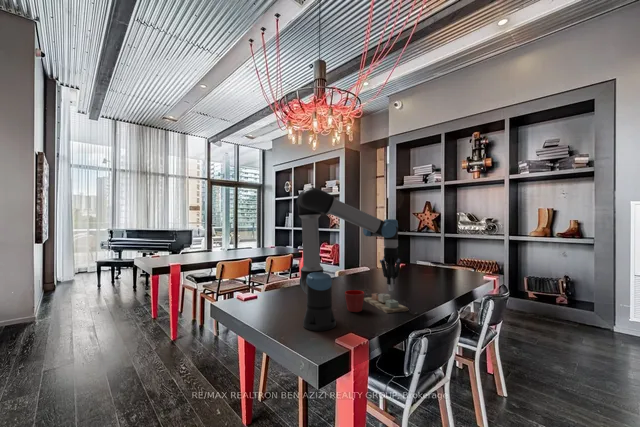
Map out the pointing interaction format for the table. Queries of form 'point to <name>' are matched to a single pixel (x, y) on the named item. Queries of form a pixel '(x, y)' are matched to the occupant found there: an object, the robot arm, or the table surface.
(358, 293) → the flower pot
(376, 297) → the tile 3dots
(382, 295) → the tile
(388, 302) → the tile
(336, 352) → the table surface
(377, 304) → the button board
